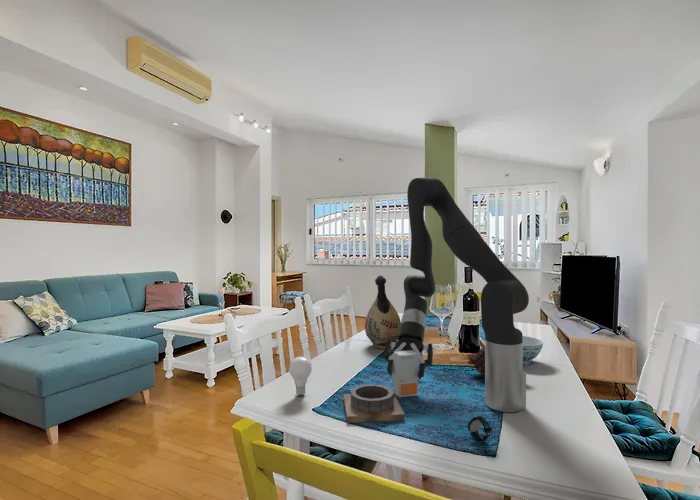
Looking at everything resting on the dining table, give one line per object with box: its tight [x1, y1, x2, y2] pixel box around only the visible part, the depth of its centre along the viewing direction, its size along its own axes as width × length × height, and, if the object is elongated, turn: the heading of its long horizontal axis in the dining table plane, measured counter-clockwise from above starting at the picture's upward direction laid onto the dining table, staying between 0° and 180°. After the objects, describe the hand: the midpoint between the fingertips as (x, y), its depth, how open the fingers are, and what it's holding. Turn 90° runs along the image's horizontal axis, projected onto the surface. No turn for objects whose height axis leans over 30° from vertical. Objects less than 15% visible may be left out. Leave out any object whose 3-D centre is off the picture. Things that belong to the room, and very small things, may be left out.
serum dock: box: [343, 383, 405, 424], centre depth 100 cm, size 14×14×4 cm
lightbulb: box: [288, 356, 313, 397], centre depth 109 cm, size 6×6×11 cm
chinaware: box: [523, 335, 544, 365], centre depth 140 cm, size 15×15×8 cm
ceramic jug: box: [364, 275, 401, 350], centre depth 161 cm, size 17×15×30 cm
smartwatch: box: [467, 415, 492, 443], centre depth 84 cm, size 4×5×5 cm
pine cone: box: [466, 347, 485, 376], centre depth 123 cm, size 18×10×10 cm, turn 57°
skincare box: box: [392, 350, 419, 398], centre depth 110 cm, size 6×4×12 cm
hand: (404, 376), depth 109 cm, fingers open, 8 cm apart
